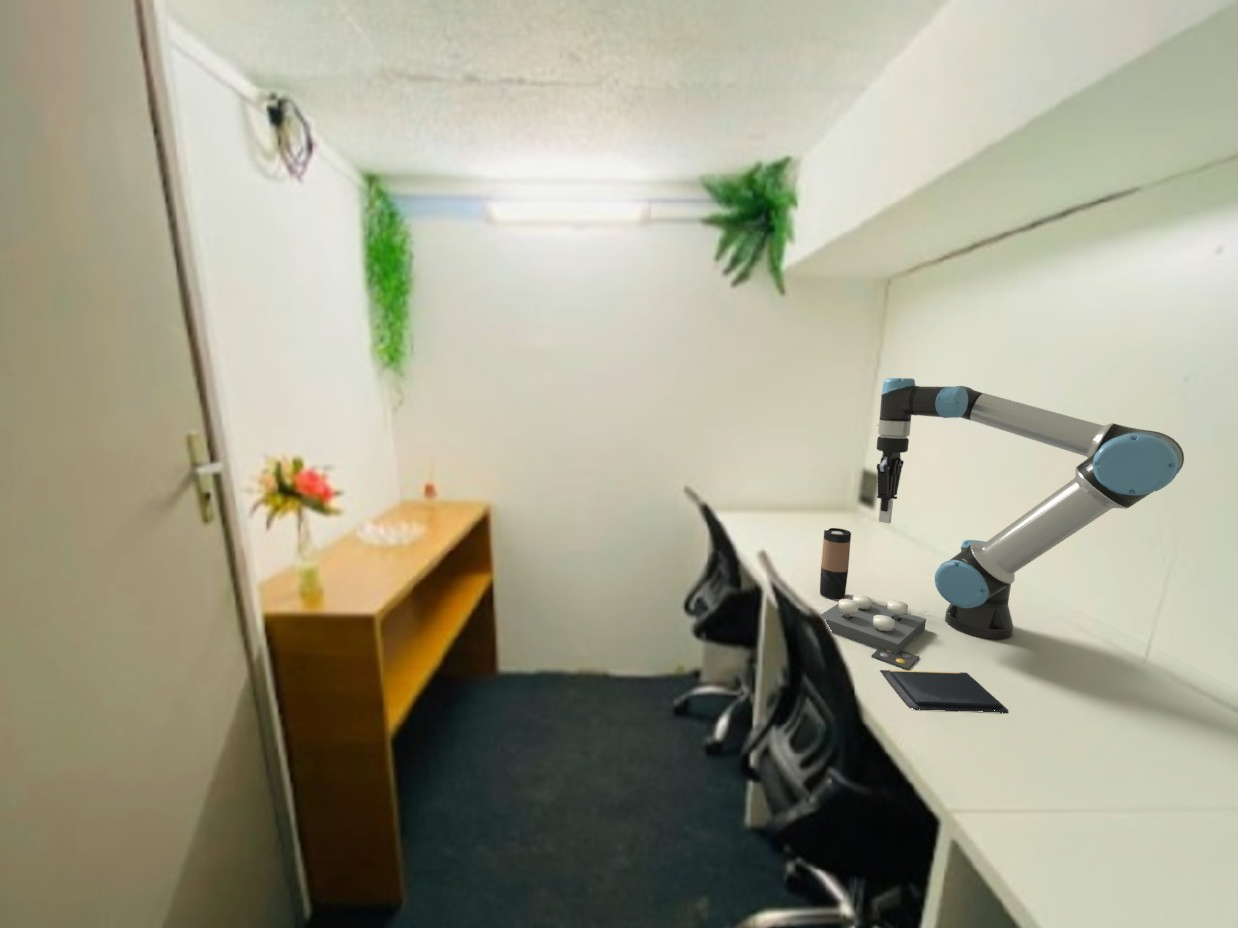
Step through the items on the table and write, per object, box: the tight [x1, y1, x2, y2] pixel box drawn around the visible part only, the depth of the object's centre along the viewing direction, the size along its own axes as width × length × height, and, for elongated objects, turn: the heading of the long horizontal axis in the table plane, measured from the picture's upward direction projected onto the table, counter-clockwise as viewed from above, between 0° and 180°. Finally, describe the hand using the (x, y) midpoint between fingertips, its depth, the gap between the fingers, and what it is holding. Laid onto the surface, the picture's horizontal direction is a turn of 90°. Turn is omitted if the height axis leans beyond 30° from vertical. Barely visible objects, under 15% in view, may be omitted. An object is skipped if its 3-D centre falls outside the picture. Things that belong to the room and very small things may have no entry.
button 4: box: [838, 598, 859, 620], centre depth 142 cm, size 5×5×5 cm
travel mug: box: [819, 527, 852, 601], centre depth 163 cm, size 8×8×20 cm
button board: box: [820, 595, 927, 654], centre depth 143 cm, size 20×20×3 cm
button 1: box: [886, 599, 909, 621], centre depth 142 cm, size 5×5×5 cm
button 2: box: [873, 615, 895, 632], centre depth 136 cm, size 5×5×5 cm
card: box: [871, 648, 920, 671], centre depth 128 cm, size 8×8×1 cm
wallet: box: [879, 669, 1009, 714], centre depth 115 cm, size 20×2×15 cm
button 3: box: [852, 594, 873, 610], centre depth 149 cm, size 5×5×5 cm
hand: (884, 521), depth 148 cm, fingers closed
